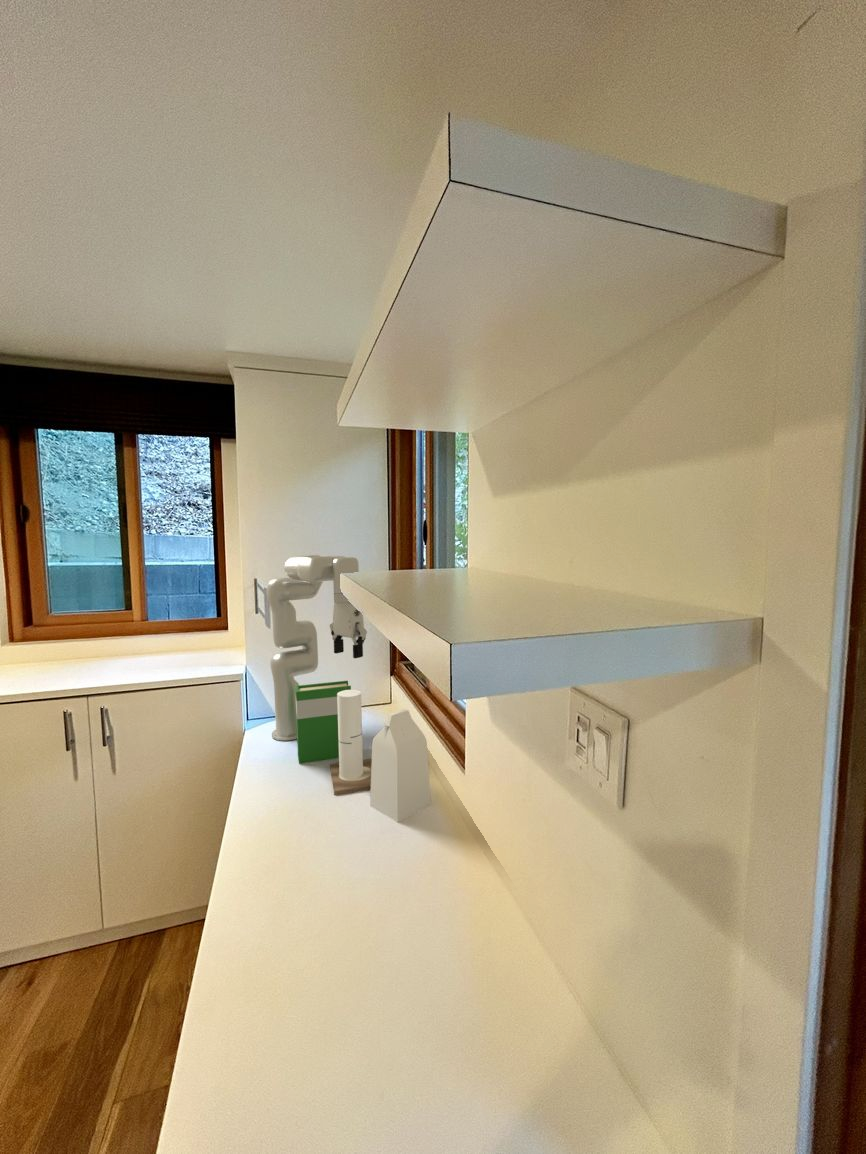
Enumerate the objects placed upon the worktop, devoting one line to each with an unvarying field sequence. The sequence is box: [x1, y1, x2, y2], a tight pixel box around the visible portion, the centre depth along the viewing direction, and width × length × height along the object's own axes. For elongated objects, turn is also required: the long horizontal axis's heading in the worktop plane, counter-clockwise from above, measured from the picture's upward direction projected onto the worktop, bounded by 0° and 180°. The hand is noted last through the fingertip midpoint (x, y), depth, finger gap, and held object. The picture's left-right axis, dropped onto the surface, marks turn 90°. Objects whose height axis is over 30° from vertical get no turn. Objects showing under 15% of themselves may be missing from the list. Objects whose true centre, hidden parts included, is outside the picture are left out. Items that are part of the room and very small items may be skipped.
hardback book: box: [295, 680, 352, 765], centre depth 167 cm, size 18×7×24 cm, turn 108°
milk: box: [369, 708, 432, 823], centre depth 134 cm, size 12×12×26 cm
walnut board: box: [329, 758, 372, 796], centre depth 152 cm, size 18×14×1 cm
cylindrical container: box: [337, 689, 364, 779], centre depth 151 cm, size 7×7×25 cm
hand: (348, 655), depth 149 cm, fingers open, 9 cm apart
